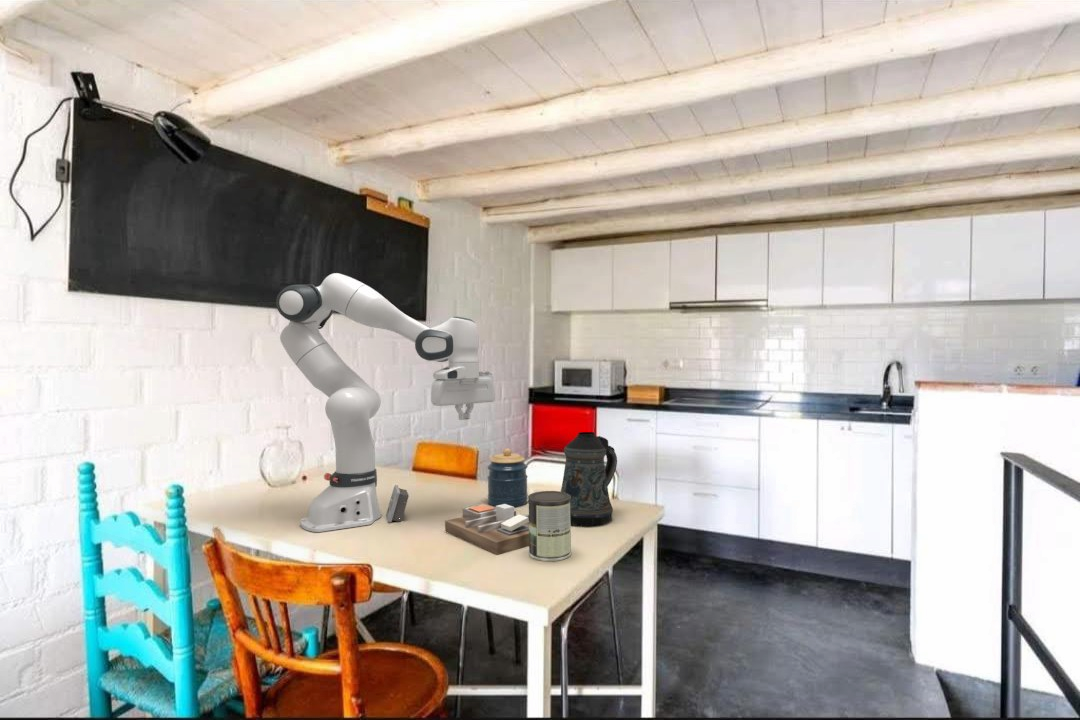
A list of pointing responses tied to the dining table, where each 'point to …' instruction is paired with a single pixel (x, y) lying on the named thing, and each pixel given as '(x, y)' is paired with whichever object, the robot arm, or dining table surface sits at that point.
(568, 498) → the coffee can
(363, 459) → the robot arm
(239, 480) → the dining table surface
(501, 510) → the block
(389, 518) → the electrical switch
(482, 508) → the push button
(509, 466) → the canister
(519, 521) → the rocker switch
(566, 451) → the beer stein
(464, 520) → the control panel
